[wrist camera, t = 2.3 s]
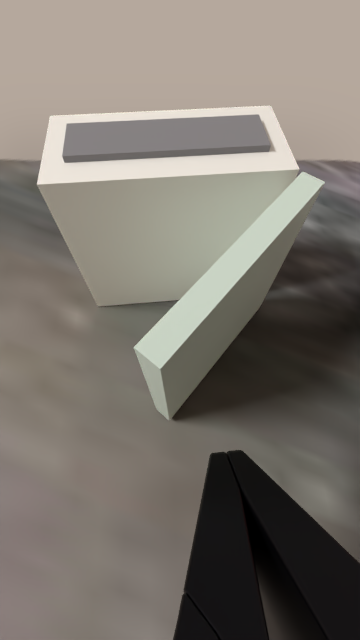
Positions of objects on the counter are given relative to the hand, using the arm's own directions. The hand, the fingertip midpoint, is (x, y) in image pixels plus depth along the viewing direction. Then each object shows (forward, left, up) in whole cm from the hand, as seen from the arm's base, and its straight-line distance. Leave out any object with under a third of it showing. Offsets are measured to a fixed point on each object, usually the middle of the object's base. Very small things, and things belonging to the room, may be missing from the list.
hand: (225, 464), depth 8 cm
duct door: (+3, -6, -9) cm, 11 cm away
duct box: (+9, -10, -9) cm, 16 cm away
